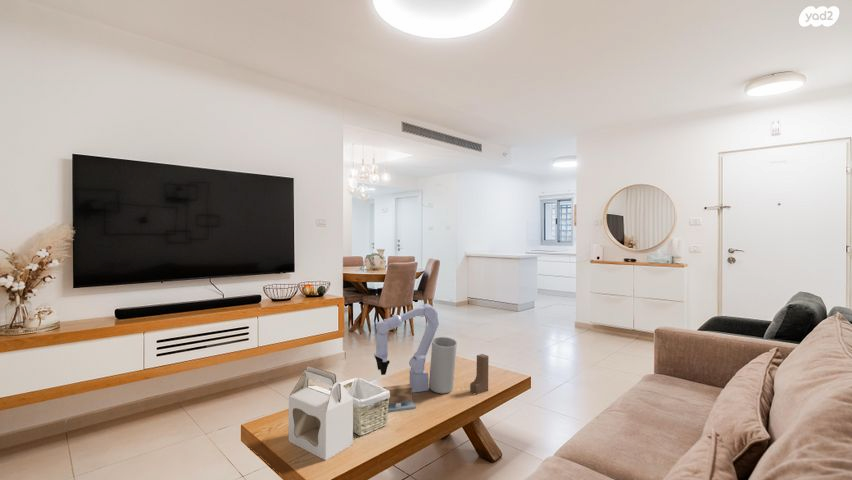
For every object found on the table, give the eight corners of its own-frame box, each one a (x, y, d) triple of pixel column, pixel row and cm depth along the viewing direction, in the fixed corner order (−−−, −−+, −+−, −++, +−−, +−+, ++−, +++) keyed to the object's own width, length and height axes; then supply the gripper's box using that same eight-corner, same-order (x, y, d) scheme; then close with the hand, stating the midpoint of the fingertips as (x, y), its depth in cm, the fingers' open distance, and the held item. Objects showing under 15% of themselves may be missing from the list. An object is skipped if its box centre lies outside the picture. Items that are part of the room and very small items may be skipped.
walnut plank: (409, 396, 184) (409, 384, 184) (411, 400, 181) (411, 387, 181) (380, 400, 180) (380, 387, 180) (382, 403, 176) (382, 390, 176)
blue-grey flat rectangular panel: (410, 400, 187) (410, 398, 187) (415, 408, 179) (415, 406, 179) (377, 404, 182) (377, 402, 182) (381, 413, 174) (381, 410, 174)
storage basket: (326, 419, 168) (327, 385, 168) (358, 407, 179) (358, 375, 179) (359, 439, 151) (359, 401, 151) (391, 425, 162) (391, 390, 162)
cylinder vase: (453, 395, 195) (457, 348, 191) (428, 393, 195) (432, 346, 192) (452, 382, 207) (456, 338, 204) (429, 380, 208) (432, 336, 204)
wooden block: (476, 394, 195) (476, 358, 195) (469, 391, 198) (470, 356, 198) (488, 390, 200) (488, 355, 200) (482, 387, 204) (482, 353, 204)
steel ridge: (397, 401, 184) (397, 396, 184) (400, 407, 178) (400, 402, 178) (392, 401, 183) (392, 397, 183) (395, 407, 177) (395, 403, 177)
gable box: (287, 441, 149) (288, 368, 149) (315, 427, 160) (316, 359, 160) (325, 461, 136) (326, 381, 136) (353, 445, 147) (354, 371, 147)
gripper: (371, 342, 203) (371, 368, 203) (377, 349, 189) (376, 377, 189) (384, 341, 205) (384, 366, 205) (391, 348, 191) (391, 376, 191)
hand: (381, 372), depth 197 cm, fingers open, 7 cm apart
